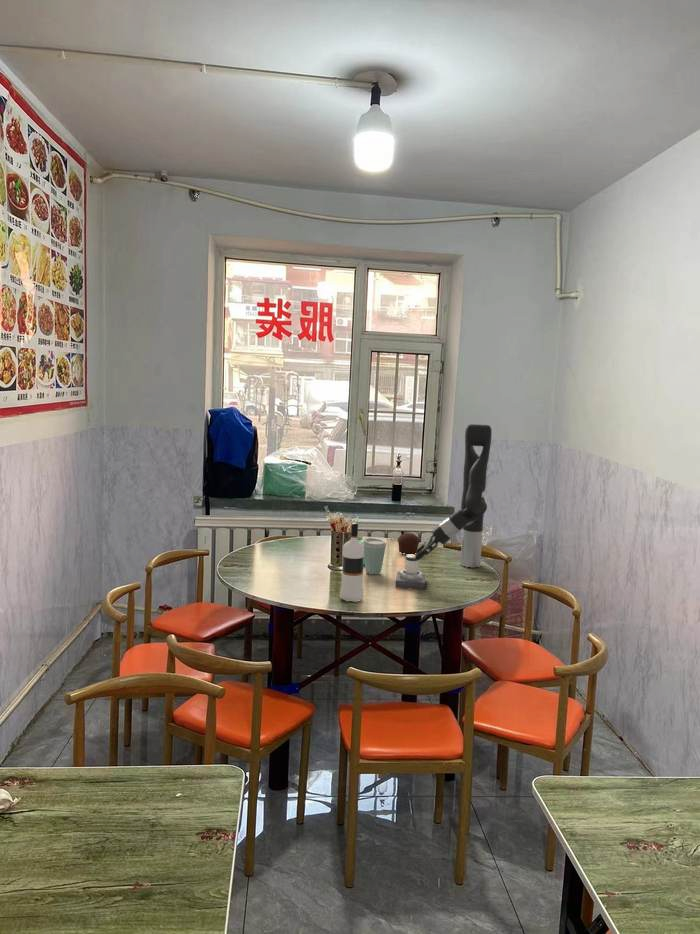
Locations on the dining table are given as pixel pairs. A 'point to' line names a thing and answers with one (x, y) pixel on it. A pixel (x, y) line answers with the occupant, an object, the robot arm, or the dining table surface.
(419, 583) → the grey ring holder base
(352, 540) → the vodka
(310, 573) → the dining table surface
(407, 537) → the muffin
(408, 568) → the white banded cylinder
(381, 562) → the disposable coffee cup
